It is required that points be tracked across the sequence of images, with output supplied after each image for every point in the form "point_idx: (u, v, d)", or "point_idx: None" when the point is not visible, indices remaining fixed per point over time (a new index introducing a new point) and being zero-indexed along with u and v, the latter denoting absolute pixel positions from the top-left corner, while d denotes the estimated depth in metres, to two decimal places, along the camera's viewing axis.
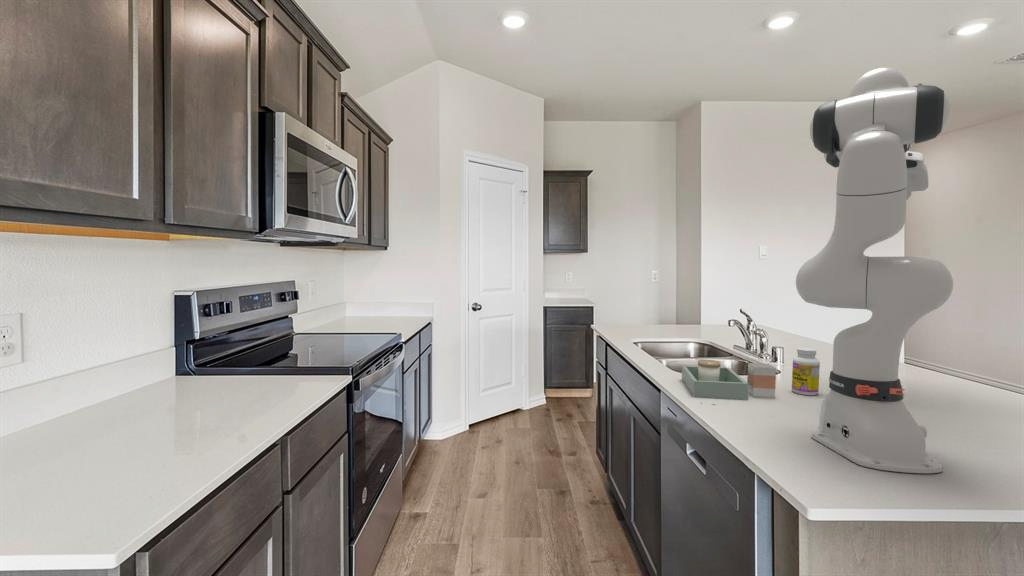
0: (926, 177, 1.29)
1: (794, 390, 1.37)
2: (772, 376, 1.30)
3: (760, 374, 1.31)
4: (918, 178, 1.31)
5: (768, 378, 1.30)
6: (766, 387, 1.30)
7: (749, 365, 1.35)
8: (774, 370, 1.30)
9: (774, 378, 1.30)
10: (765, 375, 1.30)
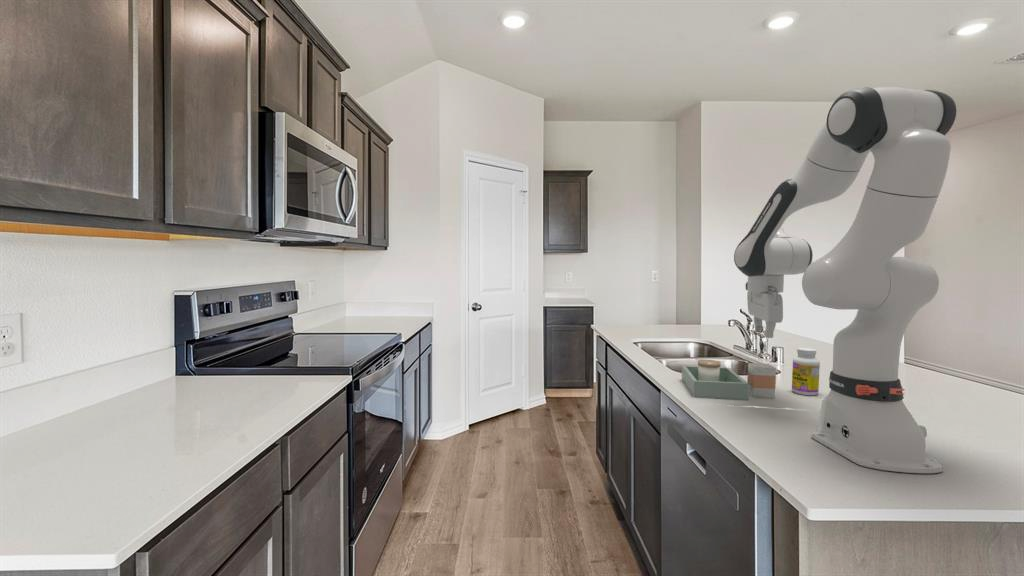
0: None
1: (794, 390, 1.37)
2: (772, 376, 1.30)
3: (760, 374, 1.31)
4: None
5: (768, 378, 1.30)
6: (766, 387, 1.30)
7: (749, 365, 1.35)
8: (774, 370, 1.30)
9: (774, 378, 1.30)
10: (765, 375, 1.30)
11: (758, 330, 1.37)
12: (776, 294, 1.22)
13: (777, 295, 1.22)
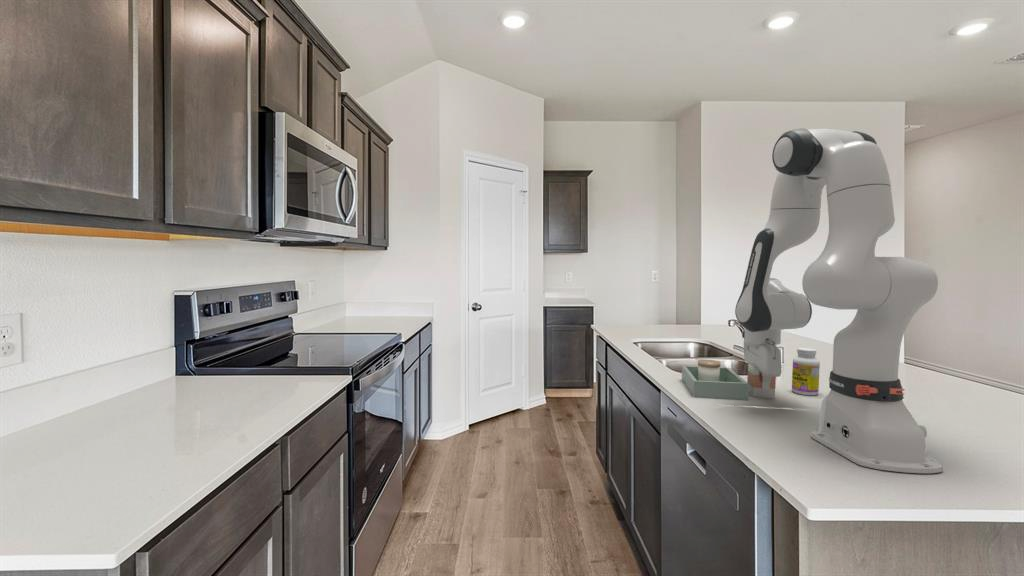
0: None
1: (794, 390, 1.37)
2: None
3: (760, 374, 1.31)
4: None
5: None
6: None
7: (749, 365, 1.35)
8: None
9: (774, 378, 1.30)
10: None
11: None
12: (775, 349, 1.23)
13: (776, 350, 1.22)
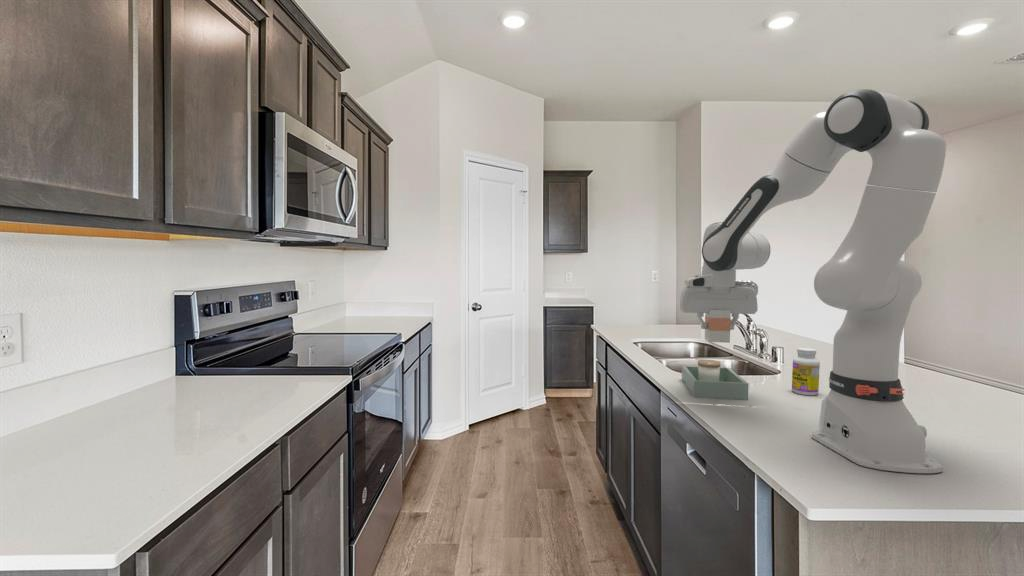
0: None
1: (794, 390, 1.37)
2: None
3: None
4: None
5: None
6: None
7: (714, 311, 1.32)
8: None
9: None
10: None
11: None
12: (757, 287, 1.32)
13: None
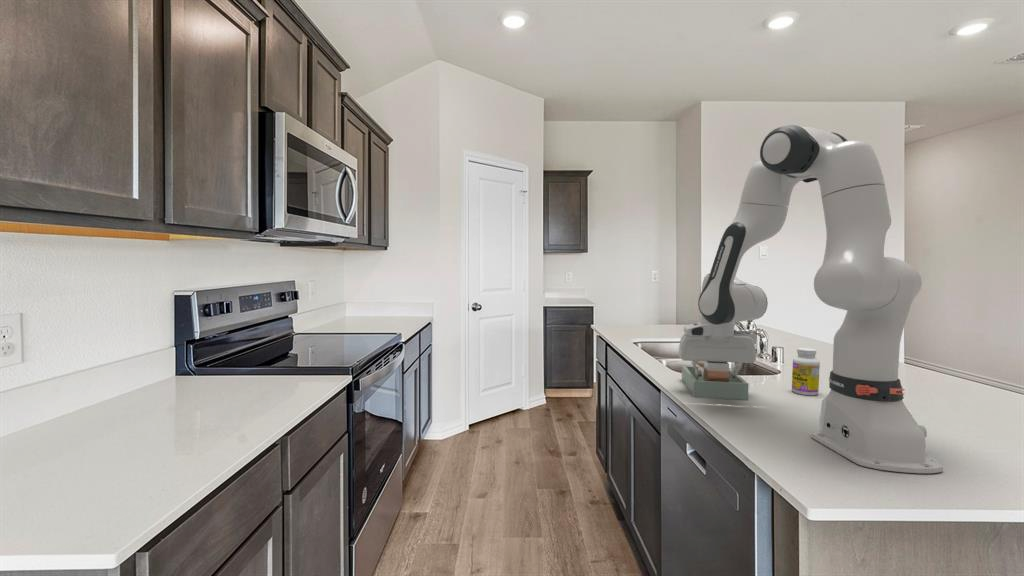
0: None
1: (794, 390, 1.37)
2: None
3: None
4: None
5: None
6: None
7: (713, 364, 1.33)
8: None
9: None
10: None
11: None
12: None
13: None
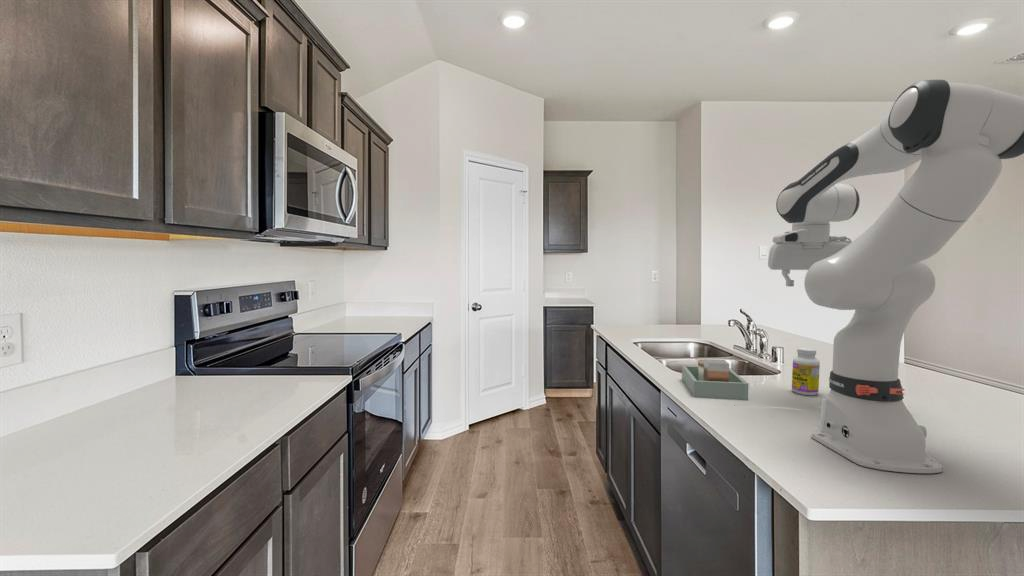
0: None
1: (794, 390, 1.37)
2: None
3: None
4: None
5: None
6: None
7: (713, 364, 1.33)
8: None
9: None
10: None
11: None
12: None
13: None
